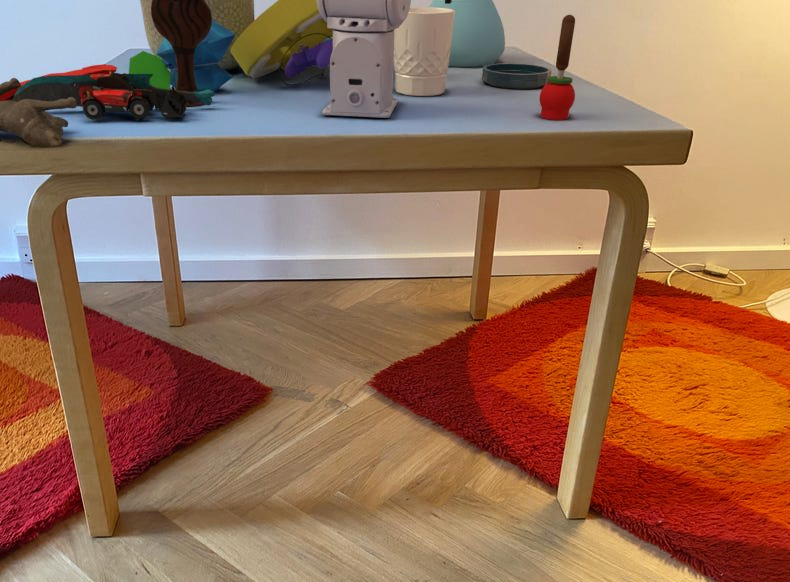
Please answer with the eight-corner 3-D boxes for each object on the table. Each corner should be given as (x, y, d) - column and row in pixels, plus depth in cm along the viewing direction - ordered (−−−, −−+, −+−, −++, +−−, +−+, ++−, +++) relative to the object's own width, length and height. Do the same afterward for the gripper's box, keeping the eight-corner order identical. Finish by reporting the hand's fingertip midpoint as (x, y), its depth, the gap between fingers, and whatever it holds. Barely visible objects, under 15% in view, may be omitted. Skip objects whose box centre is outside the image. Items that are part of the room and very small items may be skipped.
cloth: (146, 57, 102) (151, 74, 103) (58, 70, 104) (63, 86, 105) (69, 78, 79) (76, 99, 80) (-42, 94, 81) (-34, 114, 82)
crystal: (155, 29, 95) (238, 8, 92) (177, 95, 99) (257, 77, 97) (135, 36, 88) (224, 14, 86) (159, 106, 93) (244, 87, 90)
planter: (209, 82, 99) (197, -43, 91) (124, 70, 107) (107, -46, 99) (280, 65, 112) (275, -46, 104) (200, 56, 119) (190, -48, 111)
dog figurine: (6, 118, 78) (-36, 160, 73) (-18, 70, 73) (-64, 112, 69) (100, 137, 75) (62, 181, 71) (81, 88, 70) (39, 133, 66)
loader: (187, 110, 83) (182, 68, 81) (182, 119, 79) (177, 75, 77) (84, 111, 83) (76, 69, 80) (73, 121, 79) (65, 76, 76)
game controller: (258, 54, 96) (307, 32, 102) (281, 112, 100) (327, 88, 105) (303, 37, 89) (353, 14, 94) (327, 101, 93) (374, 75, 98)
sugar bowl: (504, 69, 111) (513, -13, 105) (410, 66, 113) (413, -15, 107) (501, 55, 124) (510, -19, 118) (417, 53, 126) (420, -21, 120)
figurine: (224, 99, 90) (210, -64, 81) (213, 107, 86) (198, -64, 77) (168, 97, 91) (148, -65, 81) (155, 105, 87) (132, -65, 77)
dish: (551, 91, 96) (553, 75, 95) (481, 88, 98) (482, 73, 97) (547, 78, 105) (549, 64, 104) (482, 76, 106) (483, 62, 105)
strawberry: (573, 121, 81) (590, 16, 75) (537, 119, 82) (552, 16, 76) (570, 113, 84) (586, 13, 79) (536, 112, 85) (549, 12, 79)
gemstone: (159, 108, 91) (140, 121, 95) (179, 73, 93) (159, 87, 97) (119, 76, 87) (101, 91, 92) (140, 40, 89) (121, 57, 94)
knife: (211, 74, 82) (216, 109, 86) (211, 68, 82) (216, 103, 86) (-8, 78, 79) (8, 114, 83) (-7, 72, 79) (9, 108, 84)
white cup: (401, 98, 91) (405, 13, 86) (383, 87, 98) (385, 7, 93) (457, 95, 93) (464, 12, 88) (436, 85, 100) (441, 6, 94)
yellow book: (262, 50, 112) (281, 78, 113) (213, 56, 94) (236, 89, 95) (343, -20, 105) (362, 10, 107) (307, -28, 87) (331, 8, 88)
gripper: (485, -112, 94) (475, 1, 101) (379, -112, 97) (376, -2, 104) (480, -116, 88) (470, 5, 95) (368, -115, 91) (366, 2, 98)
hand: (420, 2), depth 99 cm, fingers open, 7 cm apart
